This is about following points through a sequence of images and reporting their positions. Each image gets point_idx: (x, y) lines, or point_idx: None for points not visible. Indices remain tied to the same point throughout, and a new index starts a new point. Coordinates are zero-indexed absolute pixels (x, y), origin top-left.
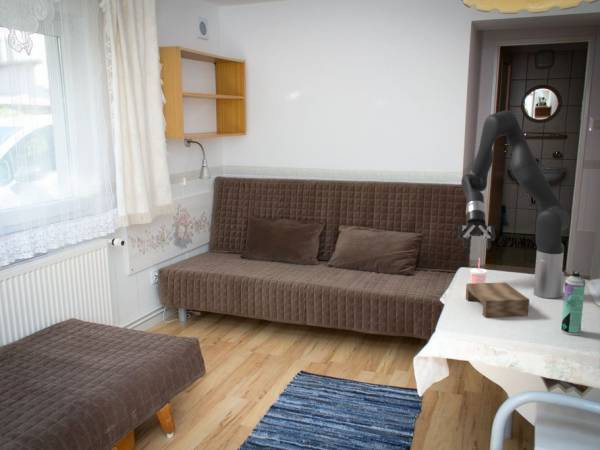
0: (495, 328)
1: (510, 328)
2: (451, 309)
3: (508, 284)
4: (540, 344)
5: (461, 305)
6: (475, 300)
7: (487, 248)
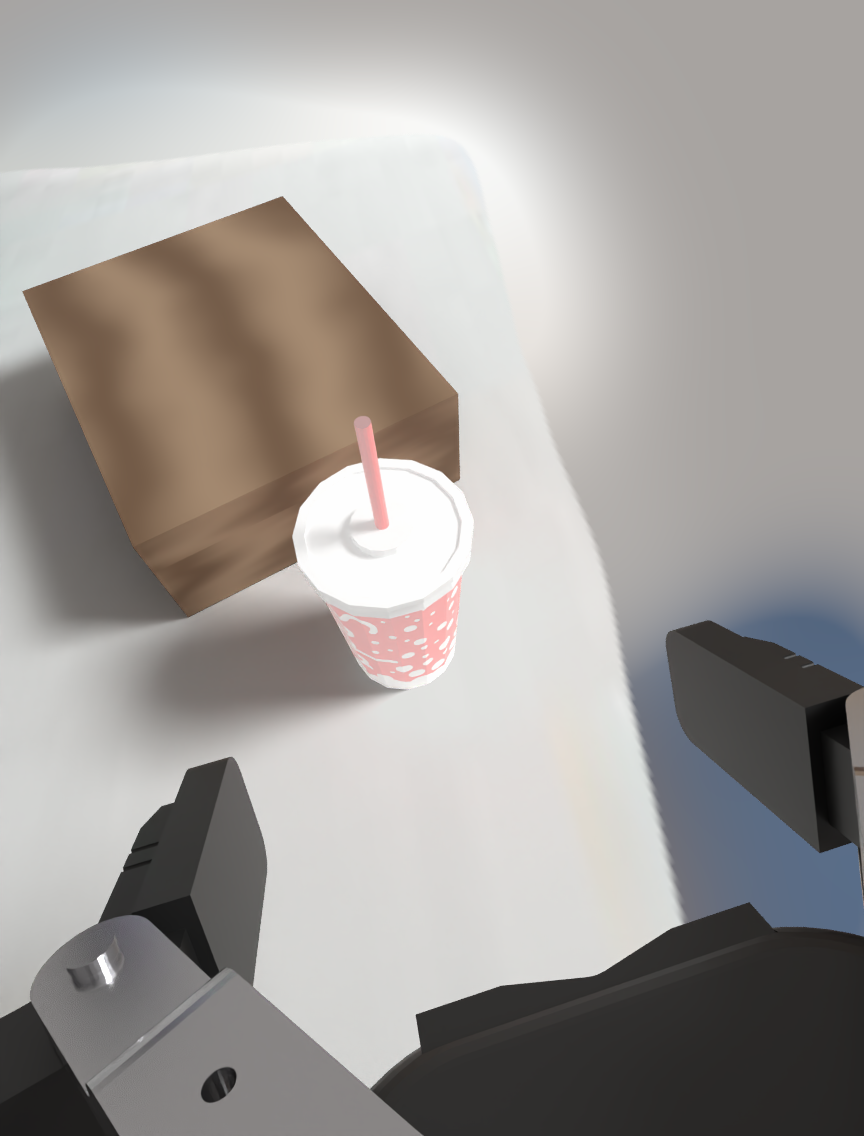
0: None
1: None
2: (492, 310)
3: (114, 504)
4: (88, 173)
5: (456, 375)
6: None
7: (248, 814)
